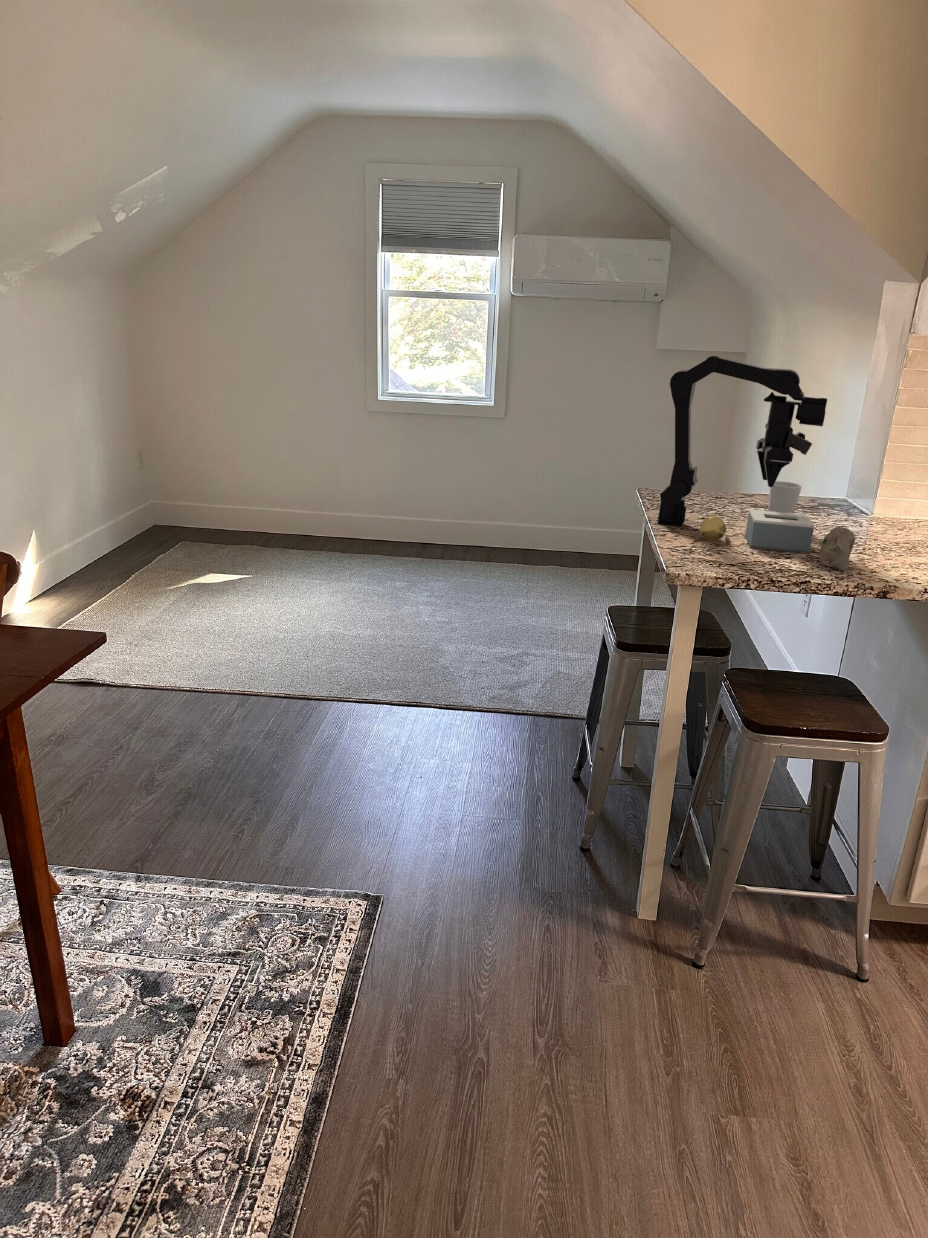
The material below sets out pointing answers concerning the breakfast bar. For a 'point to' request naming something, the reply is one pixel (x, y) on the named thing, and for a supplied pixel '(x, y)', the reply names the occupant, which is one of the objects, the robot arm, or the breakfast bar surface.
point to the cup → (784, 497)
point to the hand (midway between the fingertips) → (767, 483)
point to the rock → (837, 548)
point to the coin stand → (725, 538)
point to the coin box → (779, 531)
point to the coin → (713, 528)
